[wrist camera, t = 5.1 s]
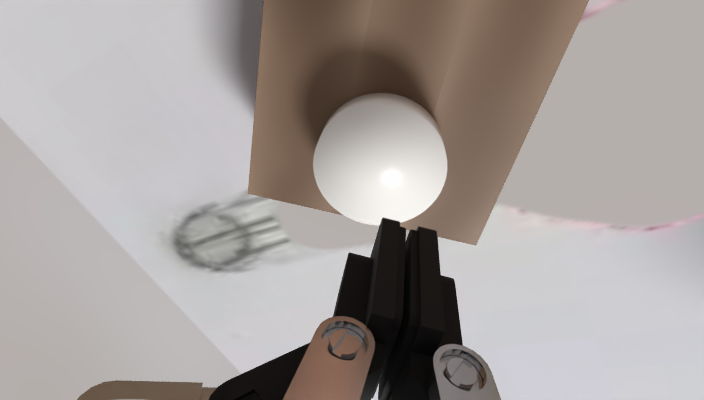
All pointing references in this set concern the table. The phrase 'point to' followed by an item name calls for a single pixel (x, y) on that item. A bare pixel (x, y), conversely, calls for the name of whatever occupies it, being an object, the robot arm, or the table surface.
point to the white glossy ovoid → (380, 159)
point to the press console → (407, 88)
